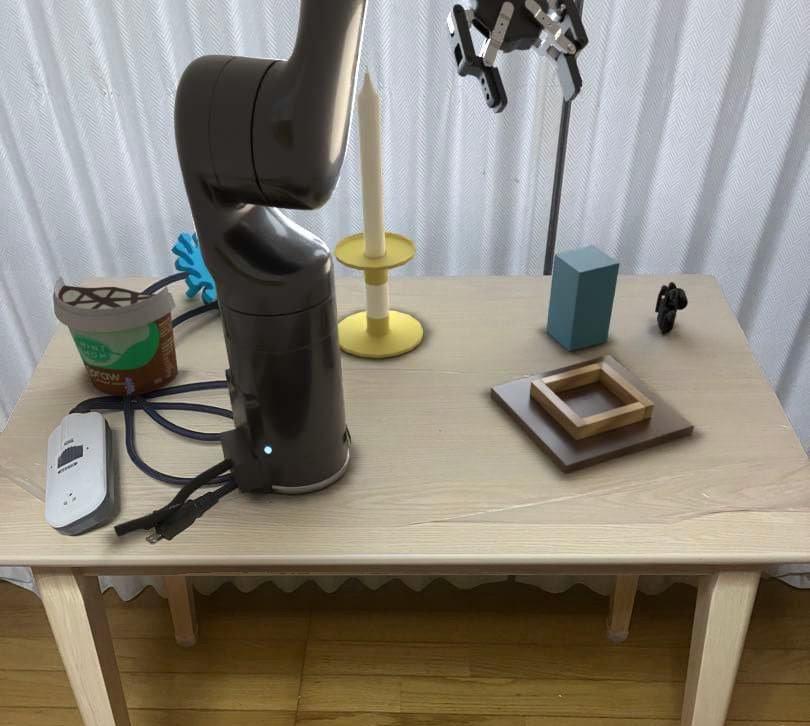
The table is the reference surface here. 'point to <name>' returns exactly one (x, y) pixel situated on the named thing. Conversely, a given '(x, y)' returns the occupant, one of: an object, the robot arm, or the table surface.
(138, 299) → the food container
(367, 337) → the candle
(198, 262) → the blue branched piece
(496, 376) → the table surface
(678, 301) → the wireless earbuds
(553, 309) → the post block
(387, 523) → the table surface
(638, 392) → the square wooden socket base
